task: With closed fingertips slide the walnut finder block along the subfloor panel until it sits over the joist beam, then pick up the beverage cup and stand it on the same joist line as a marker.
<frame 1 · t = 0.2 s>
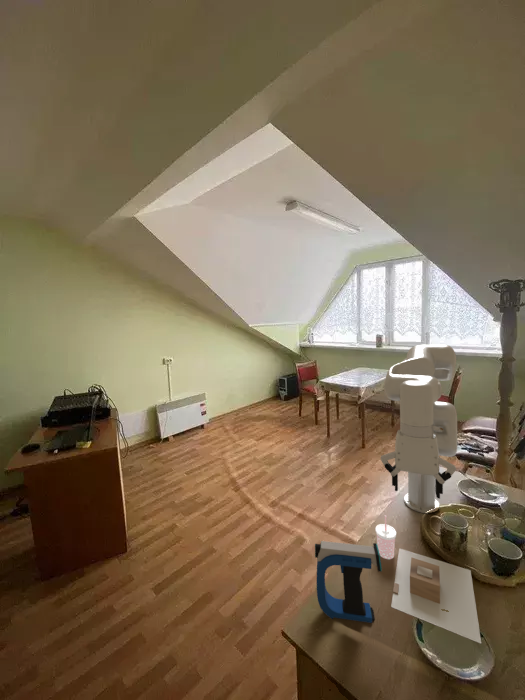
hand: (416, 491, 77), 30 cm above the table, fingers open, 9 cm apart
subfloor panel: (433, 591, 81), on the table
beverage cup: (386, 557, 94), on the table
finder block: (424, 587, 81), point 1 cm above the table, touching subfloor panel
handheld scanner: (348, 615, 76), on the table
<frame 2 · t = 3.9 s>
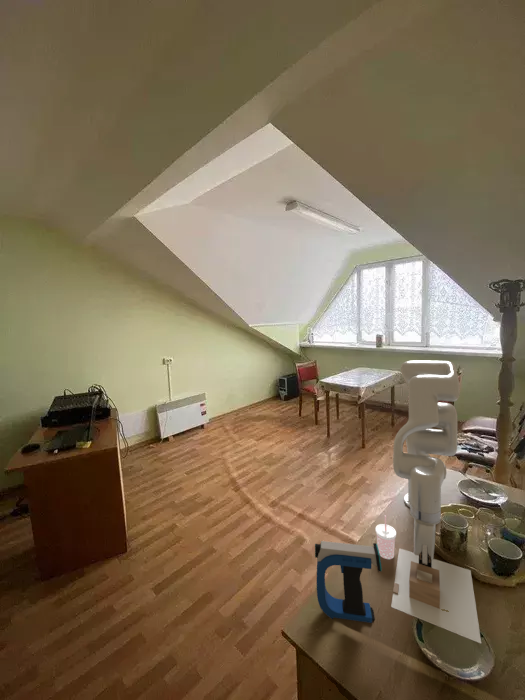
hand: (425, 570, 85), 3 cm above the table, fingers closed
finder block: (424, 591, 80), point 1 cm above the table, touching gripper, subfloor panel
everything else where it was.
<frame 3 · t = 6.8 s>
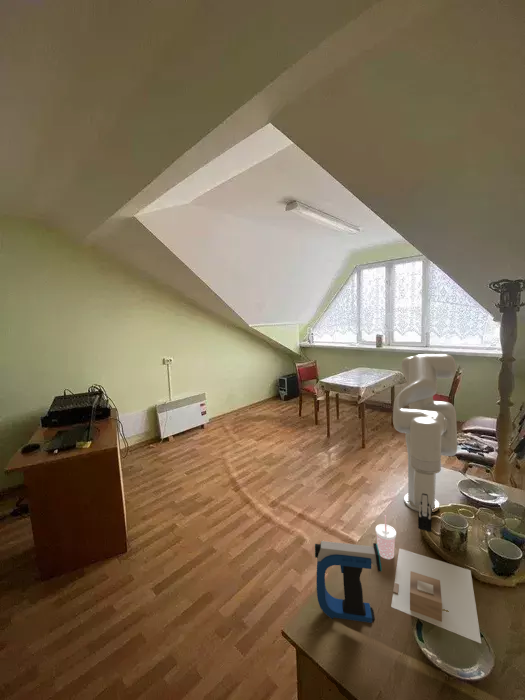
hand: (425, 520, 84), 18 cm above the table, fingers open, 7 cm apart
finder block: (425, 603, 77), point 1 cm above the table, touching subfloor panel
everything else where it was.
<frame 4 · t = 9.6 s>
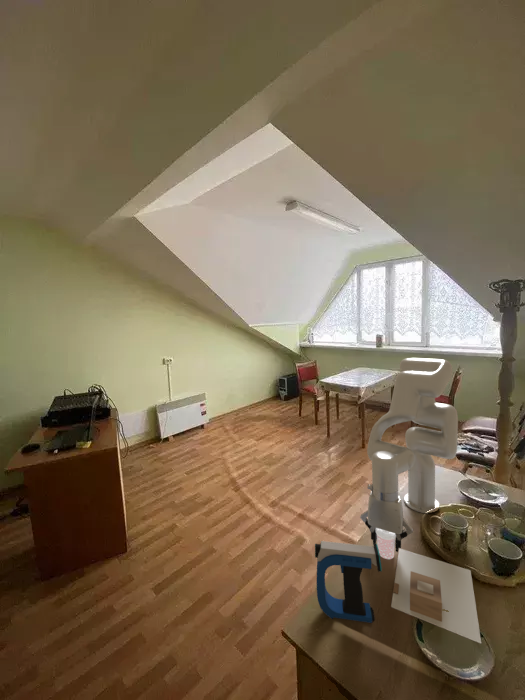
hand: (385, 544, 93), 4 cm above the table, fingers closed on beverage cup, 6 cm apart
beverage cup: (386, 557, 94), on the table, touching gripper
everything else where it was.
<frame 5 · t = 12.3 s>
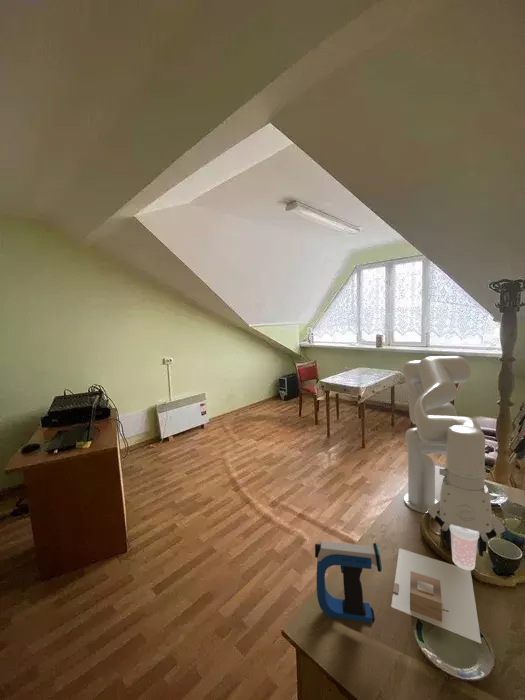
hand: (463, 546, 72), 19 cm above the table, fingers closed on beverage cup, 6 cm apart
beverage cup: (463, 563, 72), point 15 cm above the table, touching gripper
everything else where it was.
when the fingers open (7 cm above the table, at t = 15.1 s): beverage cup drops 1 cm, resting on subfloor panel.
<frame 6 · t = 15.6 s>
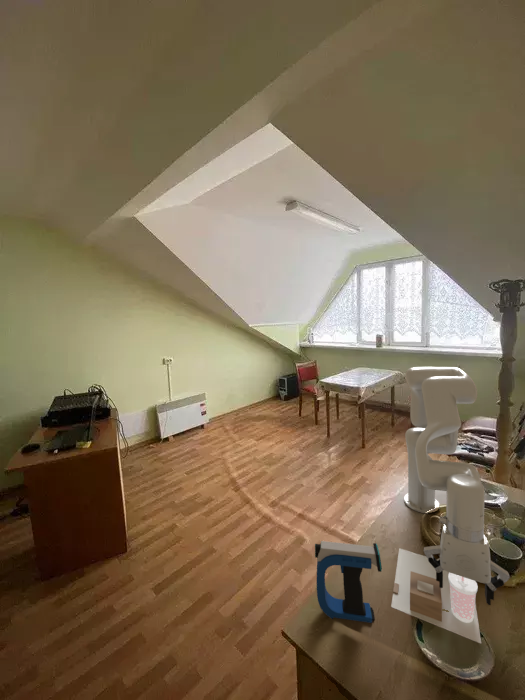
hand: (463, 591, 73), 8 cm above the table, fingers open, 9 cm apart
beverage cup: (462, 614, 74), point 1 cm above the table, touching subfloor panel
everything else where it was.
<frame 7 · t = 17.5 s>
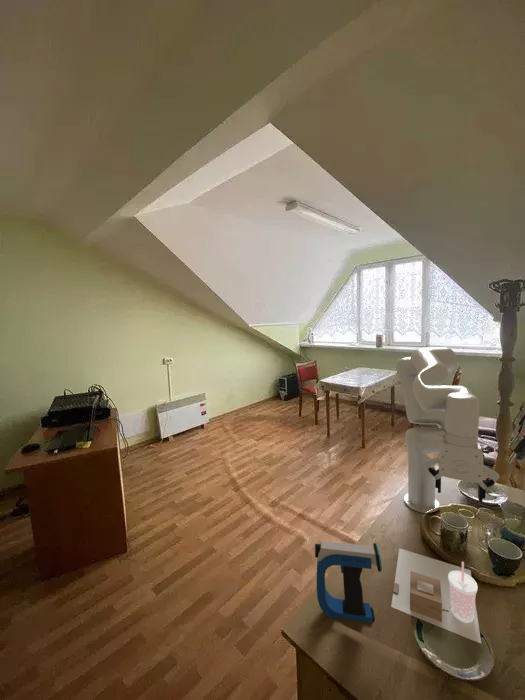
hand: (459, 494, 83), 25 cm above the table, fingers open, 9 cm apart
nothing on the table moved.
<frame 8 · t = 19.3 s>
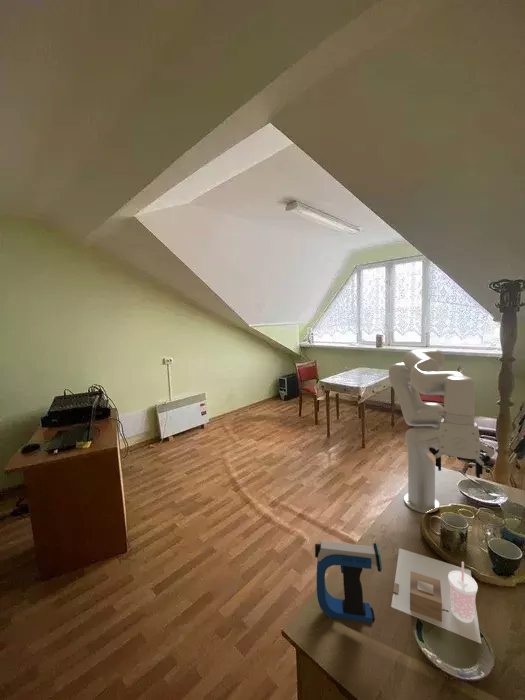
hand: (458, 472, 89), 28 cm above the table, fingers open, 9 cm apart
nothing on the table moved.
at the end: finder block inside the target area on the subfloor panel (0.9 cm from its centre), point 1.2 cm above the subfloor panel's base; beverage cup inside the target area (0.3 cm from its centre), point 1.0 cm above the table; beverage cup tilted 0° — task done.
